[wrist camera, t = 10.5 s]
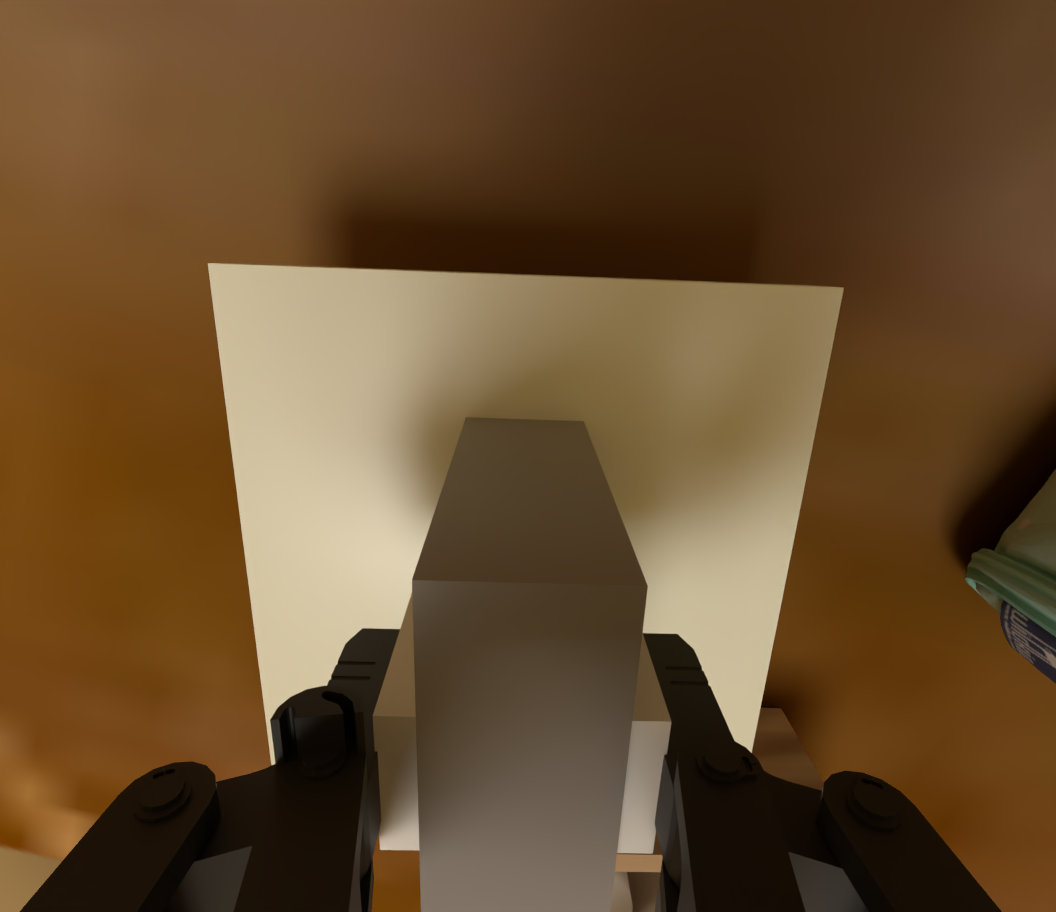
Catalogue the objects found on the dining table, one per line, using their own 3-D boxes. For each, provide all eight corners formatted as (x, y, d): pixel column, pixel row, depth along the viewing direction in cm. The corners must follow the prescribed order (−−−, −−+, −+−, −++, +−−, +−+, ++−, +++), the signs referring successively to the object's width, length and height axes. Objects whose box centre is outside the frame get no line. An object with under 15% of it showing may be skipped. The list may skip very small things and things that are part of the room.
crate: (468, 700, 26) (450, 851, 20) (781, 708, 27) (866, 858, 20) (466, 920, 31) (452, 1102, 24) (734, 924, 31) (791, 1105, 25)
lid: (244, 262, 16) (-169, 271, 6) (805, 284, 16) (1215, 324, 7) (294, 719, 21) (101, 1118, 11) (726, 728, 21) (898, 1121, 11)
